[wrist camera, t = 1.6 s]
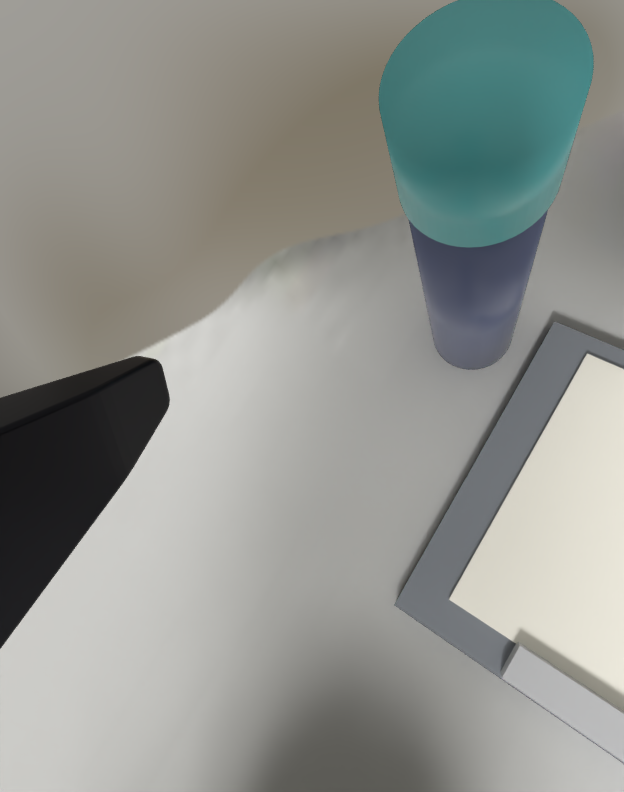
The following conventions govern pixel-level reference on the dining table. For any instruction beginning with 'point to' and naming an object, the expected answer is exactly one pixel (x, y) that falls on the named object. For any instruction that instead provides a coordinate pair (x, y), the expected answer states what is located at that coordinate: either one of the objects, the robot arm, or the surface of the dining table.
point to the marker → (482, 156)
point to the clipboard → (542, 542)
